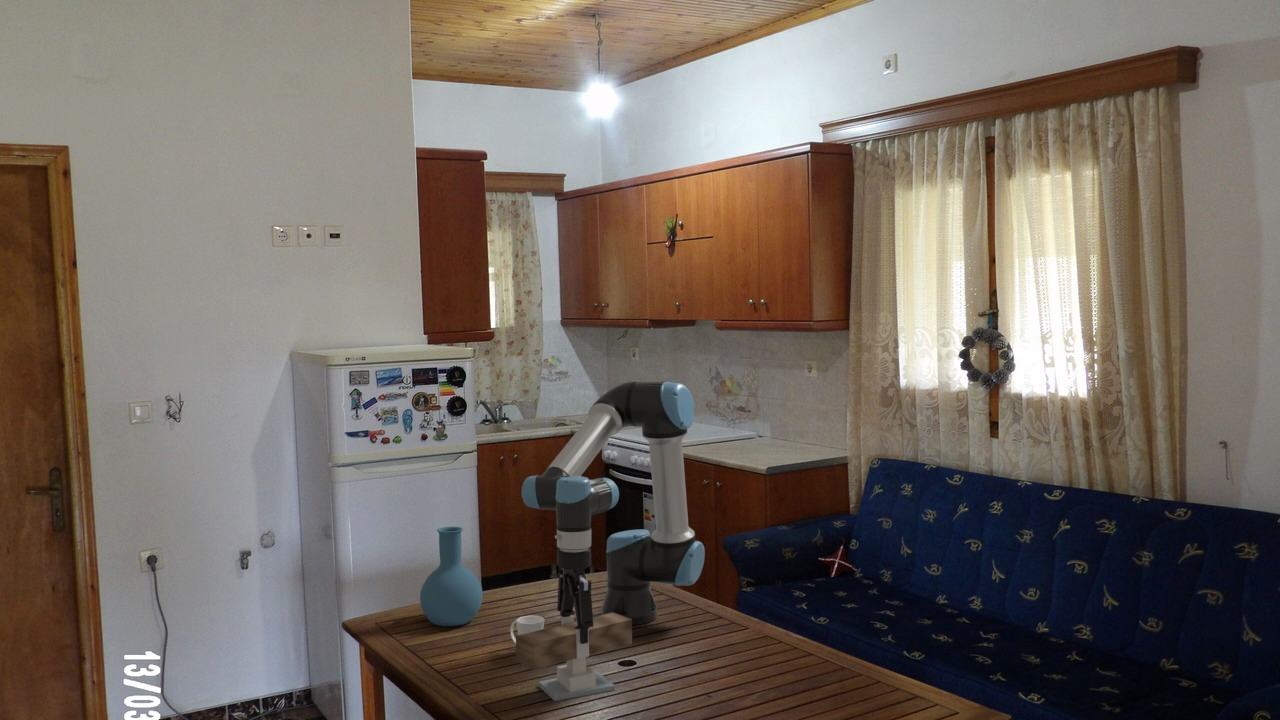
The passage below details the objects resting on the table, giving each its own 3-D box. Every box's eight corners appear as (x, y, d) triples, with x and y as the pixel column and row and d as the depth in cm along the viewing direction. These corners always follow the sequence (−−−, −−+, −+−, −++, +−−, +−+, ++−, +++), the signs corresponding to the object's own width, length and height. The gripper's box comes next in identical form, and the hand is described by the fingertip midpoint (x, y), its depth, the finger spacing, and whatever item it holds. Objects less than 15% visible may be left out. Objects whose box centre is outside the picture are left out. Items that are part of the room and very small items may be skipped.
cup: (531, 658, 242) (530, 625, 241) (501, 651, 248) (500, 618, 247) (551, 650, 247) (550, 618, 247) (521, 643, 253) (520, 611, 253)
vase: (495, 617, 275) (493, 526, 274) (453, 634, 261) (451, 538, 260) (450, 609, 284) (448, 520, 283) (407, 624, 270) (405, 531, 269)
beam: (613, 636, 233) (613, 612, 233) (632, 643, 227) (631, 619, 227) (516, 661, 217) (515, 635, 217) (533, 670, 211) (533, 644, 211)
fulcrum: (597, 675, 230) (596, 640, 230) (614, 689, 221) (614, 653, 221) (538, 685, 224) (538, 650, 224) (554, 701, 215) (553, 664, 215)
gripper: (541, 540, 229) (542, 640, 230) (575, 560, 210) (576, 668, 211) (572, 537, 232) (573, 635, 233) (608, 556, 213) (609, 663, 214)
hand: (575, 651), depth 222 cm, fingers closed on beam, 8 cm apart
